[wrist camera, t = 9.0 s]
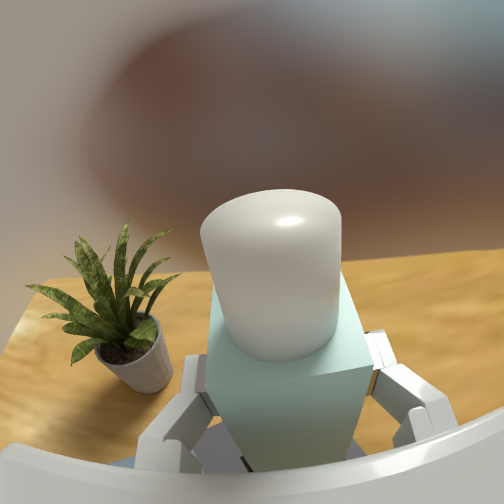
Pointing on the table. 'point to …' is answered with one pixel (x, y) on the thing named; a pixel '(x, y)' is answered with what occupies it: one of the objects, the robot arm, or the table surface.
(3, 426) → the table surface
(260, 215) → the plug
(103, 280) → the house plant
